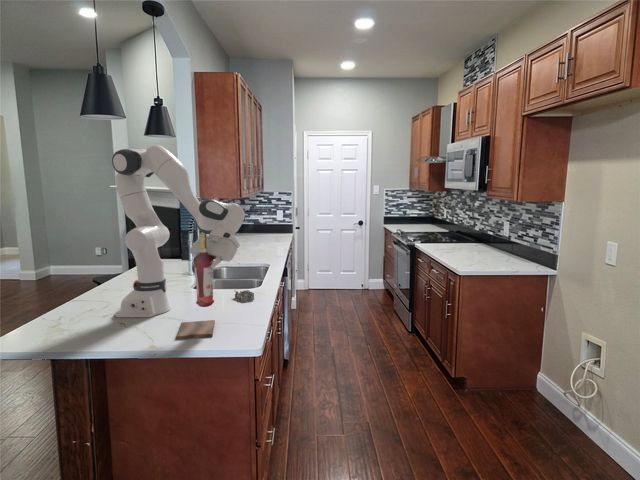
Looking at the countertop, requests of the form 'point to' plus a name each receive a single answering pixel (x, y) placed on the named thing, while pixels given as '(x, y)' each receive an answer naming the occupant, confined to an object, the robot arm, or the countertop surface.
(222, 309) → the countertop surface
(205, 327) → the serving board
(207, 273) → the liquor
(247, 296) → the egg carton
